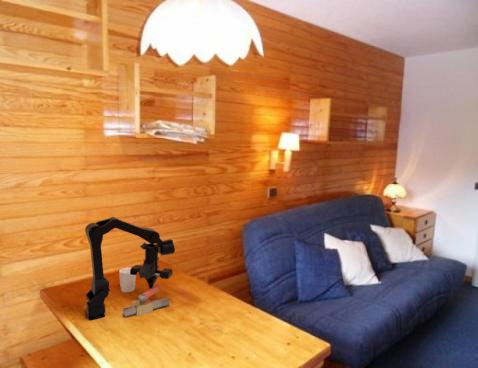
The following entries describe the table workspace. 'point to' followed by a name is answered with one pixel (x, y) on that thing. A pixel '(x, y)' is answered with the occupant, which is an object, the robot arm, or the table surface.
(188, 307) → the table surface
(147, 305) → the valve
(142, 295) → the lever
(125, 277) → the white cup
